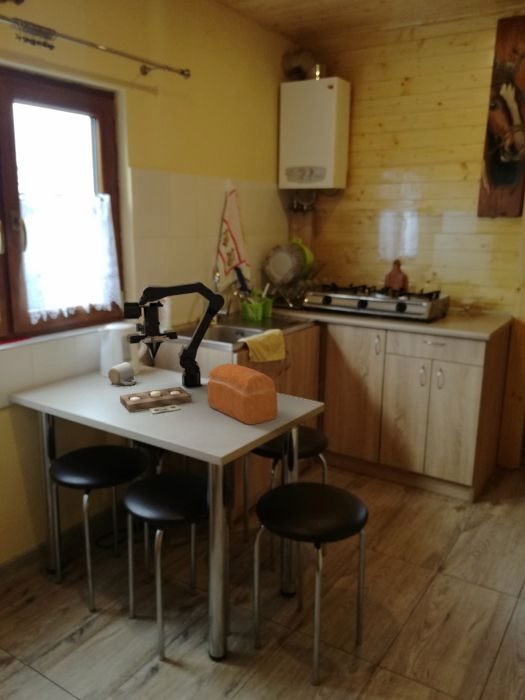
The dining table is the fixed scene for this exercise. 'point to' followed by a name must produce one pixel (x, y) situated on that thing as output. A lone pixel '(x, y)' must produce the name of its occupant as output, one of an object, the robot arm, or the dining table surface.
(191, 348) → the robot arm
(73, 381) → the dining table surface
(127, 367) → the ceramic mug
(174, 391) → the white egg
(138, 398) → the cream egg
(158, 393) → the off-white egg
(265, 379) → the bread
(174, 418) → the dining table surface
